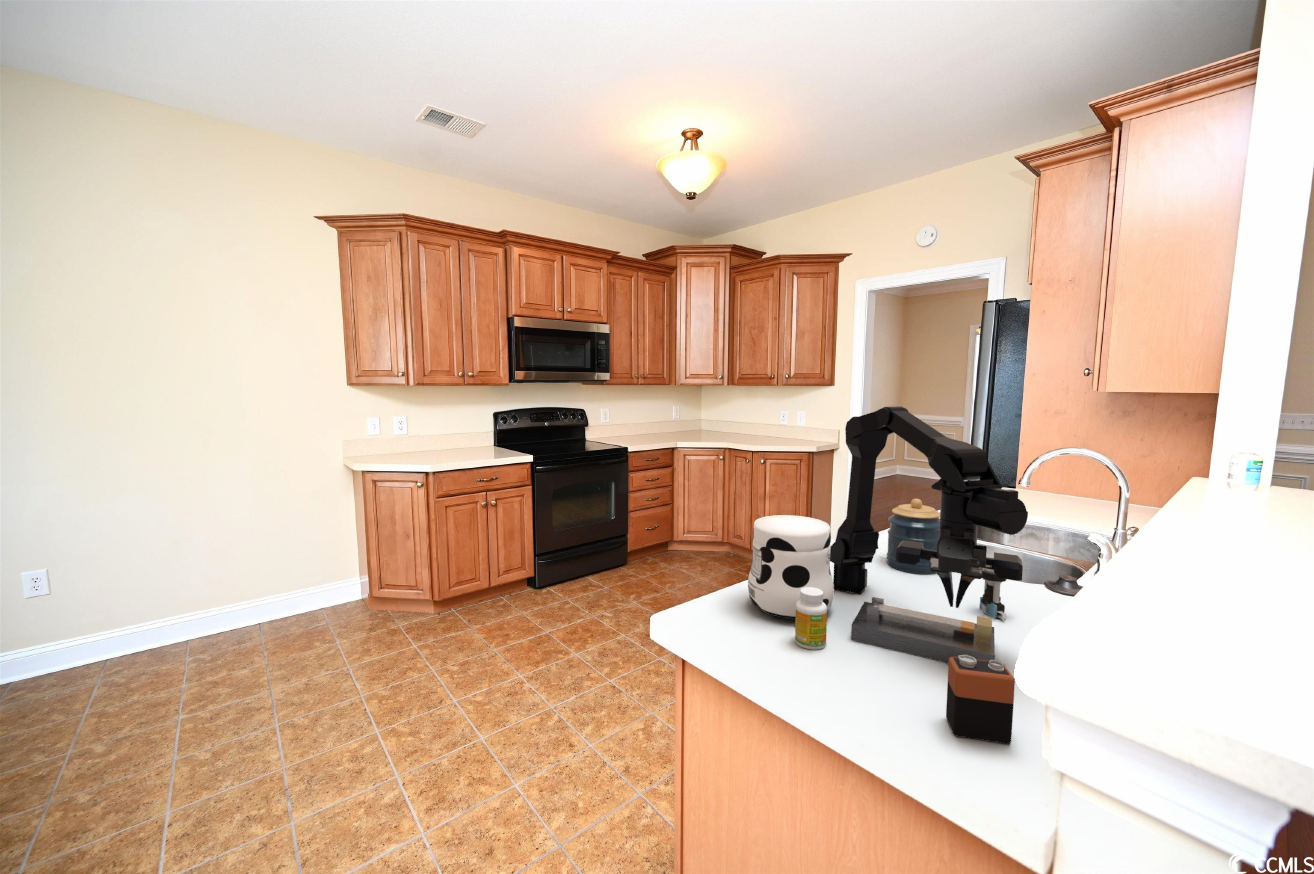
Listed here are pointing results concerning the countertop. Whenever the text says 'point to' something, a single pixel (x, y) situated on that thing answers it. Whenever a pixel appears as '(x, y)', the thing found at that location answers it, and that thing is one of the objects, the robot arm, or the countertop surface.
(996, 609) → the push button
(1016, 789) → the countertop surface
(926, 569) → the canister
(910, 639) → the grey lever base
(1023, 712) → the countertop surface
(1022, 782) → the countertop surface
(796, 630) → the supplement bottle
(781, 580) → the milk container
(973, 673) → the battery
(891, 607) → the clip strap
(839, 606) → the countertop surface
